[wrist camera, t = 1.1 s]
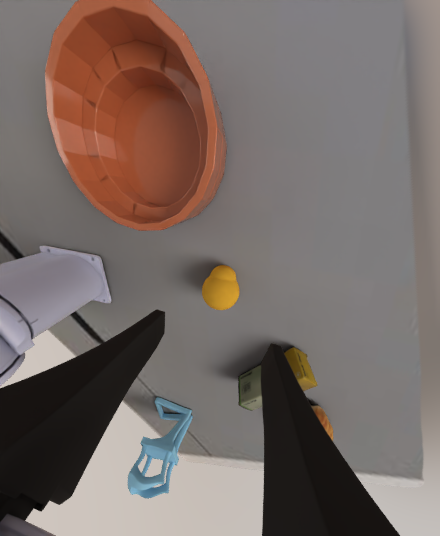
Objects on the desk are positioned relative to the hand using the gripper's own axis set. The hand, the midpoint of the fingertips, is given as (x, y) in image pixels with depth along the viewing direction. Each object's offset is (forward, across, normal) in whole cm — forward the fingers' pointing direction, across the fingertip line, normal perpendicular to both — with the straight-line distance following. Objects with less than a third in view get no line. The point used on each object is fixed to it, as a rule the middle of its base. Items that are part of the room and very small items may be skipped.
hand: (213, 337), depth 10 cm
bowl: (+9, +9, -10) cm, 17 cm away
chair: (+10, +5, +38) cm, 40 cm away
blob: (+10, +1, +1) cm, 10 cm away
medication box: (+10, -9, +14) cm, 20 cm away
